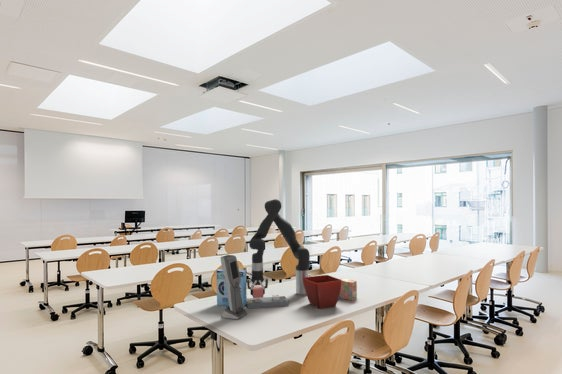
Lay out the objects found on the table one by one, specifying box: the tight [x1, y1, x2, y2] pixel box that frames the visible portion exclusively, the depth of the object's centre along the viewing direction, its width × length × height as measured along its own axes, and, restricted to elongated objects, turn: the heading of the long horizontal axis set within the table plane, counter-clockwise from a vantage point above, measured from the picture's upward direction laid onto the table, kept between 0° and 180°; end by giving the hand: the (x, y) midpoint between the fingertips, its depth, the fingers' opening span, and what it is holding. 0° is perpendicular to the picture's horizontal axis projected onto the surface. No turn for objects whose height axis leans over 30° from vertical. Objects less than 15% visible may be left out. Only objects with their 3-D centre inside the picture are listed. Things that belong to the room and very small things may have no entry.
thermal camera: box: [220, 254, 248, 321], centre depth 203 cm, size 12×13×35 cm
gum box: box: [216, 268, 248, 308], centre depth 223 cm, size 20×5×23 cm, turn 72°
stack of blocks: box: [338, 278, 358, 301], centre depth 239 cm, size 21×6×12 cm, turn 49°
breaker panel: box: [246, 295, 289, 309], centre depth 223 cm, size 26×12×4 cm, turn 100°
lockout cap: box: [252, 286, 264, 298], centre depth 223 cm, size 7×8×5 cm
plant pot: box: [303, 274, 342, 309], centre depth 221 cm, size 19×19×17 cm
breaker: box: [271, 294, 280, 301], centre depth 225 cm, size 4×5×2 cm
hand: (257, 294), depth 223 cm, fingers closed on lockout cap, 6 cm apart
